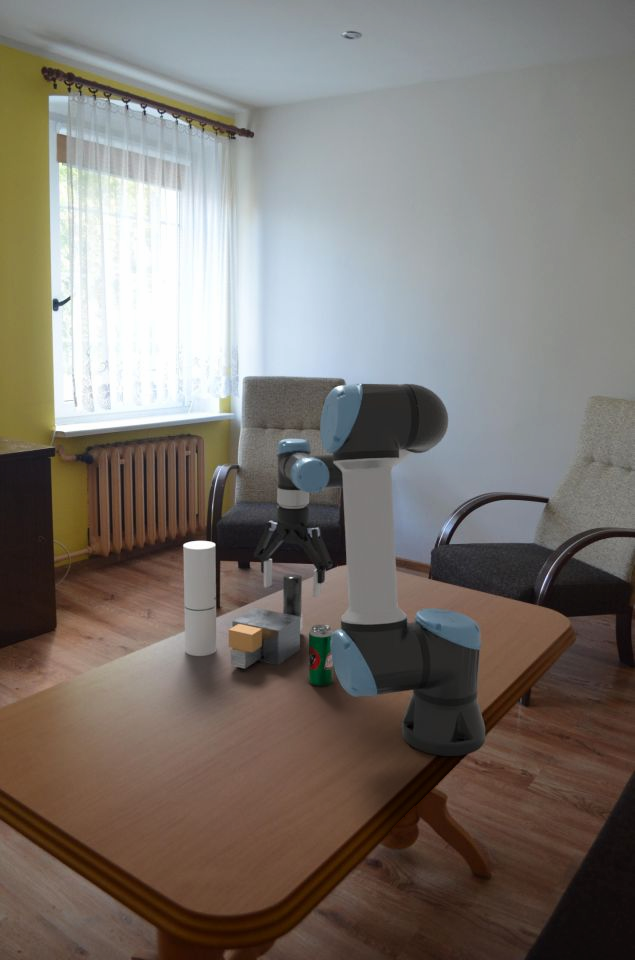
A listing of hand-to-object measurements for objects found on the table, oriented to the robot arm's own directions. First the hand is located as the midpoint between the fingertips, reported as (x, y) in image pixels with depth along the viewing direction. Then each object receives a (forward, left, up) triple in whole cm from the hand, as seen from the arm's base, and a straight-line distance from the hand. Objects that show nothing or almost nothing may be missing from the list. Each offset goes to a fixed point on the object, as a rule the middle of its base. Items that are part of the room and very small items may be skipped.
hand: (292, 590), depth 192 cm
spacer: (-21, 0, -6) cm, 22 cm away
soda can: (-20, -18, -11) cm, 29 cm away
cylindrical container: (-19, +14, -11) cm, 26 cm away
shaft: (-11, 0, -10) cm, 15 cm away
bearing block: (-12, 0, -11) cm, 16 cm away
